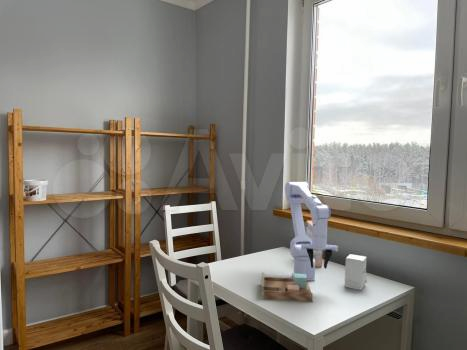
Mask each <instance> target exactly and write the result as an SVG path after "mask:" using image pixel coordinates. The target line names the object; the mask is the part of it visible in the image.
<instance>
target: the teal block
mask: <svg viewBox="0 0 467 350" xmlns="http://www.w3.org/2000/svg"><path fill="white" fill-rule="evenodd" d="M293 273H294V272H293ZM293 283H294V285H299V288H307V276H306V274H296V273H294V282H293Z"/></svg>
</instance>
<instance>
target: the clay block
mask: <svg viewBox="0 0 467 350" xmlns="http://www.w3.org/2000/svg"><path fill="white" fill-rule="evenodd" d="M287 292H300V289H299V285H287Z"/></svg>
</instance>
